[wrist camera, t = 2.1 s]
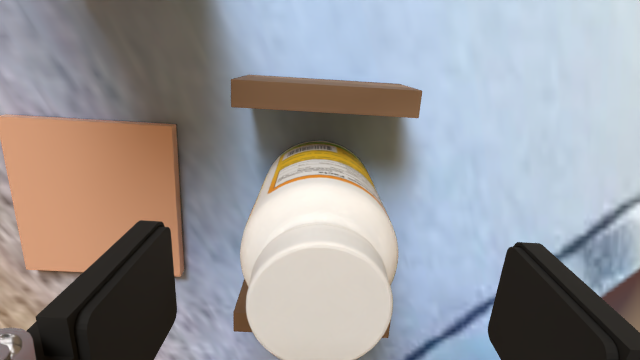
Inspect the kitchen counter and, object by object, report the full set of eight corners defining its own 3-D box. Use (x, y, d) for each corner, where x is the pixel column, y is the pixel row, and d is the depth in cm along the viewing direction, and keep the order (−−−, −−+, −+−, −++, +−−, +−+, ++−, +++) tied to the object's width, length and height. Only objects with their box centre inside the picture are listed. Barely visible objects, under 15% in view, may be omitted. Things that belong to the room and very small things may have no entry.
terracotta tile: (184, 270, 21) (180, 276, 20) (34, 263, 20) (26, 269, 20) (176, 124, 18) (171, 126, 18) (6, 114, 18) (-5, 116, 17)
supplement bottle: (323, 256, 21) (329, 419, 11) (243, 196, 19) (177, 321, 10) (392, 184, 19) (463, 300, 10) (311, 115, 18) (306, 174, 9)
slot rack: (375, 287, 21) (388, 337, 17) (248, 281, 21) (233, 331, 17) (399, 84, 18) (422, 90, 14) (249, 74, 18) (230, 79, 14)
